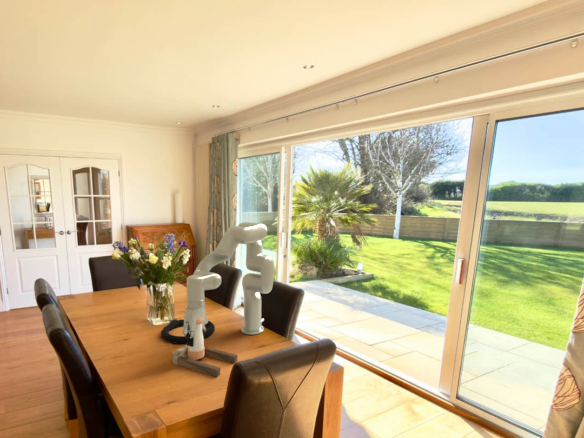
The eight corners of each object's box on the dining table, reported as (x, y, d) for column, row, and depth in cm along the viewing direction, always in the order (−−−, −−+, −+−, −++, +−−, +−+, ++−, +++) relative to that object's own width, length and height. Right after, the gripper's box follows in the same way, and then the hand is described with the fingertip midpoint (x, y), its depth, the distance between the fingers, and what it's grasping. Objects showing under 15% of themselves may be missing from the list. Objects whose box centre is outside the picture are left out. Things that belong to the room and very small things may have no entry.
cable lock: (179, 343, 151) (148, 326, 170) (179, 350, 151) (148, 333, 170) (225, 325, 172) (193, 312, 191) (225, 332, 172) (193, 318, 191)
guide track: (195, 350, 151) (195, 339, 151) (237, 361, 141) (237, 350, 141) (172, 363, 138) (172, 352, 138) (217, 377, 128) (217, 365, 128)
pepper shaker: (190, 361, 137) (190, 318, 136) (185, 354, 143) (184, 313, 141) (207, 356, 141) (206, 314, 140) (201, 350, 147) (200, 309, 146)
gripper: (202, 296, 150) (202, 333, 151) (174, 308, 134) (175, 349, 135) (215, 298, 147) (215, 336, 148) (188, 310, 131) (188, 352, 132)
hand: (196, 342), depth 141 cm, fingers closed on pepper shaker, 6 cm apart
